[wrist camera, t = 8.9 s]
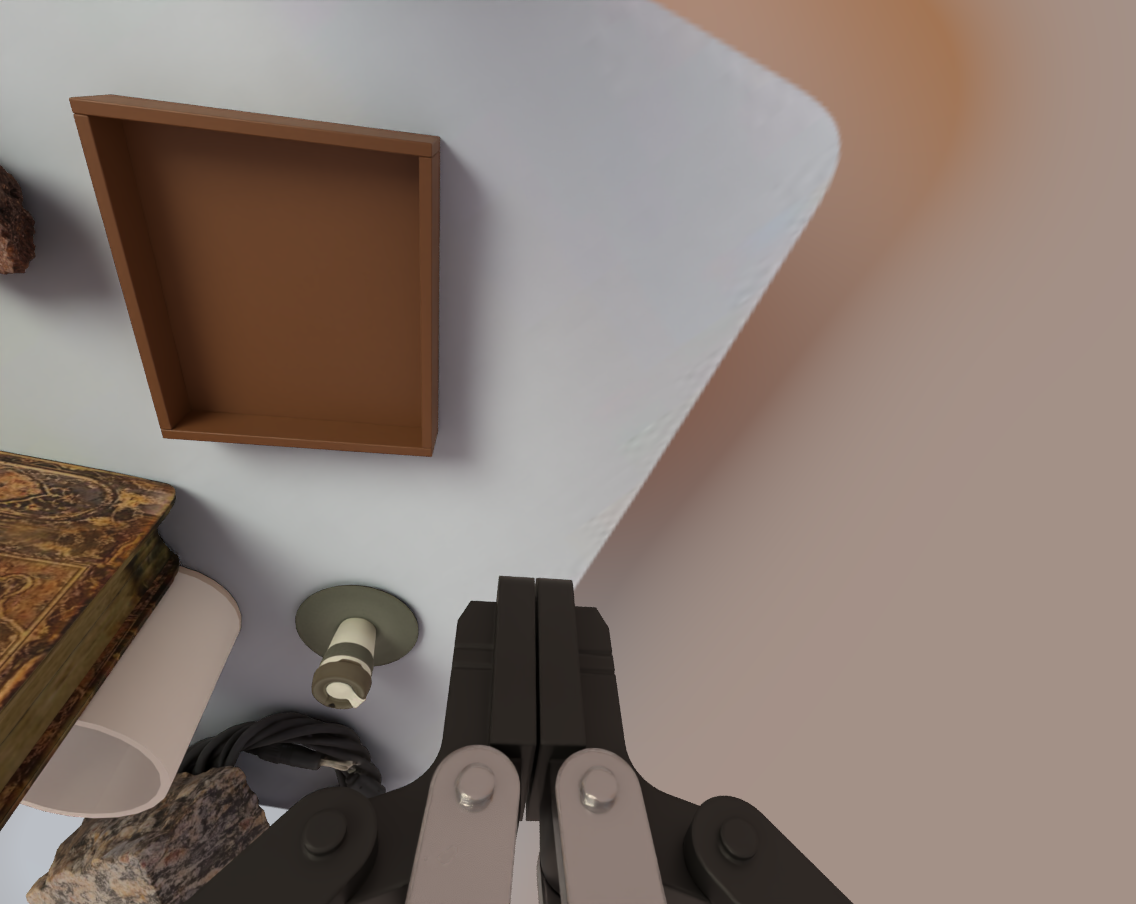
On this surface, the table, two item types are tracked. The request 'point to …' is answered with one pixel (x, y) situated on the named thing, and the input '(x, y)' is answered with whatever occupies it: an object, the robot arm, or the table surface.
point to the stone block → (157, 845)
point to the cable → (291, 749)
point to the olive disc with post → (353, 639)
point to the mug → (144, 708)
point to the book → (68, 598)
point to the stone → (14, 227)
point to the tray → (274, 271)
